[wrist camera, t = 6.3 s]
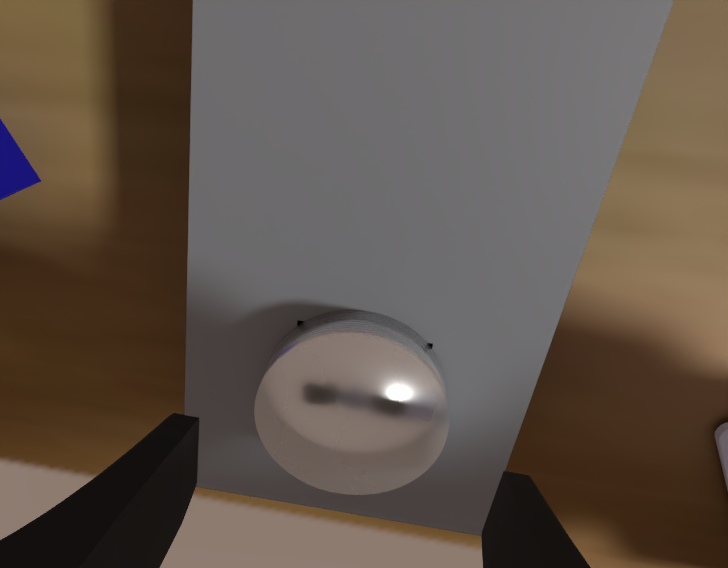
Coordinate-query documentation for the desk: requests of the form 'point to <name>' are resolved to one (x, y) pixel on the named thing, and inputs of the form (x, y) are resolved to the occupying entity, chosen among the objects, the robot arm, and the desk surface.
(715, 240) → the desk surface
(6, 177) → the cable clip
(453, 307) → the grey flat block
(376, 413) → the headed pin
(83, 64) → the desk surface
